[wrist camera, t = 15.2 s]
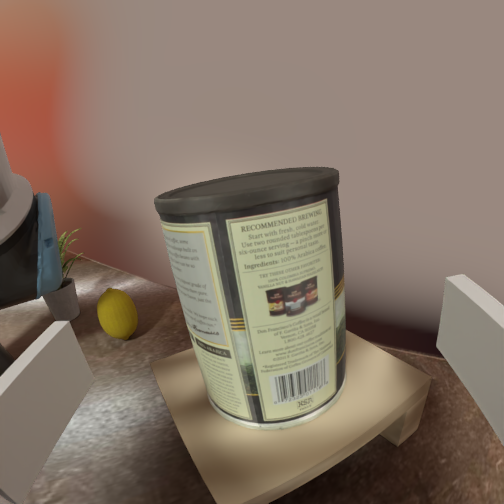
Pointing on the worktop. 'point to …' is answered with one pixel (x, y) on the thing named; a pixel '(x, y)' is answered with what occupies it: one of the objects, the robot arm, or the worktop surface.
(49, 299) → the house plant
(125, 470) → the worktop surface
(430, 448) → the worktop surface
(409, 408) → the wooden block
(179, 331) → the worktop surface
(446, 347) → the robot arm
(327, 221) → the coffee can
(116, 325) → the lemon
